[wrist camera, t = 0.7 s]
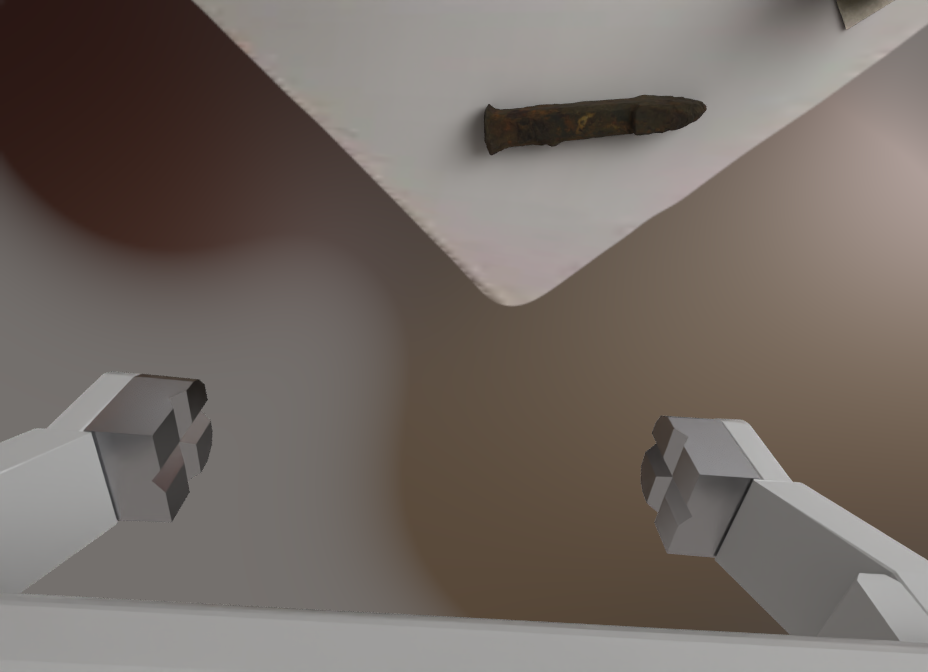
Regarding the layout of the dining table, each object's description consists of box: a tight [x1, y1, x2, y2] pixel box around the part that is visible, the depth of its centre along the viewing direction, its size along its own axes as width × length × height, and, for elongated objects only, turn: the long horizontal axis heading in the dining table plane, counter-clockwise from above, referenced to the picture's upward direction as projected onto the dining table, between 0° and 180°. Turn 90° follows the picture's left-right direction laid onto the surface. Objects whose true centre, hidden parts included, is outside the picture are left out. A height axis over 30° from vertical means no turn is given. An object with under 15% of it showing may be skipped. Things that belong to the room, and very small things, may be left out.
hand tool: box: [484, 95, 707, 155], centre depth 48 cm, size 19×4×5 cm, turn 95°
